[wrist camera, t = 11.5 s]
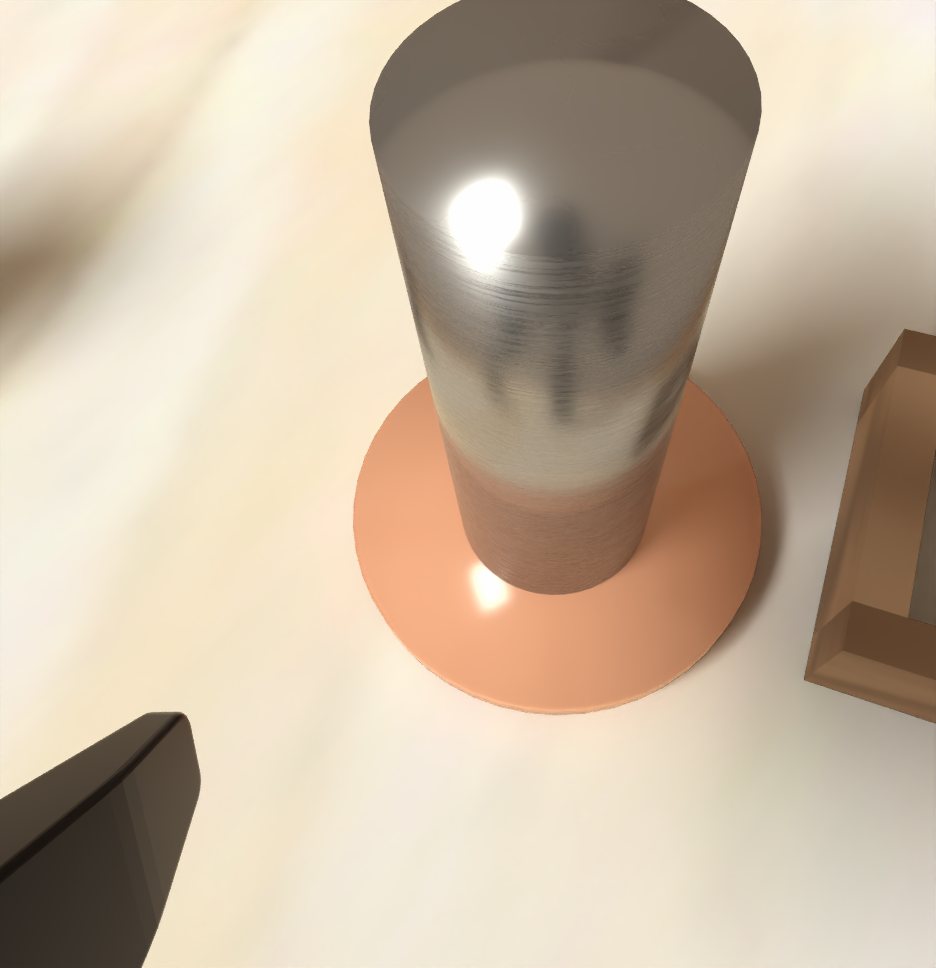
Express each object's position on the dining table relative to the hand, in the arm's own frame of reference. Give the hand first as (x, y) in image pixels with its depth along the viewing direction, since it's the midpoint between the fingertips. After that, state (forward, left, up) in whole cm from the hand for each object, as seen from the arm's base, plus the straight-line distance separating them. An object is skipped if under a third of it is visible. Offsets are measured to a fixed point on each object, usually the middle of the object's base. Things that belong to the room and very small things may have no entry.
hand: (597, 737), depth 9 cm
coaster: (+4, +7, -12) cm, 15 cm away
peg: (+4, +7, -11) cm, 14 cm away
